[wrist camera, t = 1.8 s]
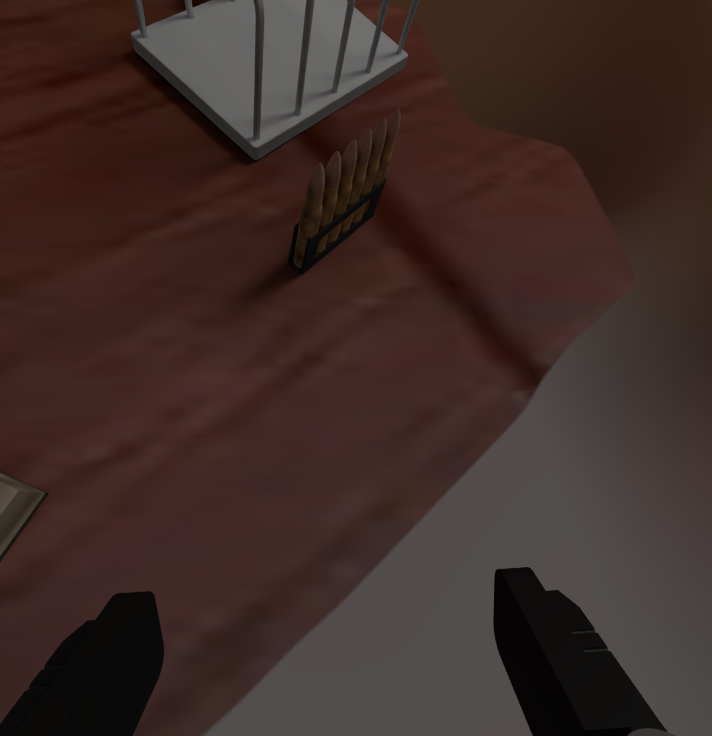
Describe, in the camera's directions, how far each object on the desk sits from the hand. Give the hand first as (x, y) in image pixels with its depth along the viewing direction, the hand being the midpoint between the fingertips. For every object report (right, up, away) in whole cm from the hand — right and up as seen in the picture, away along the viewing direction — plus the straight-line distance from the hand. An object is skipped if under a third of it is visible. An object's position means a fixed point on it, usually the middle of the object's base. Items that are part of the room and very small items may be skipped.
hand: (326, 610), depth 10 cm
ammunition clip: (-2, +18, +32) cm, 37 cm away
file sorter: (-8, +40, +38) cm, 56 cm away
